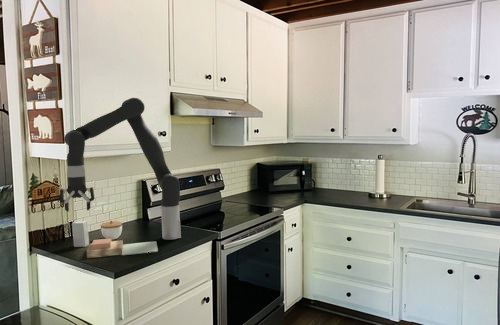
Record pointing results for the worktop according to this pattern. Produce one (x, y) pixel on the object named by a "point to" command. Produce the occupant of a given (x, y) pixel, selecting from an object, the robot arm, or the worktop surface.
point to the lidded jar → (111, 229)
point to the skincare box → (80, 234)
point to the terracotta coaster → (101, 243)
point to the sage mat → (139, 248)
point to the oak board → (106, 250)
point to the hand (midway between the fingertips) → (77, 210)
